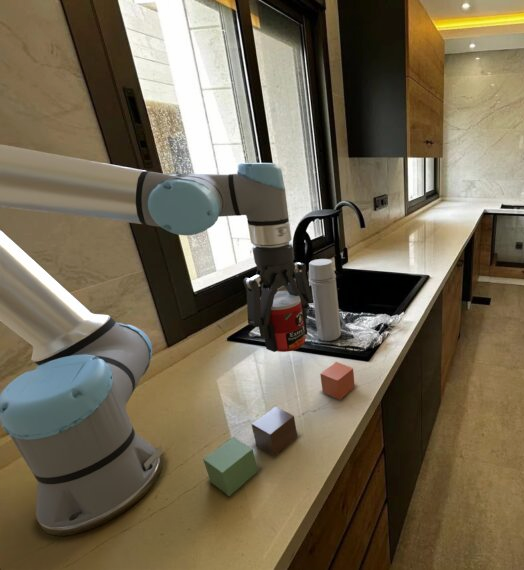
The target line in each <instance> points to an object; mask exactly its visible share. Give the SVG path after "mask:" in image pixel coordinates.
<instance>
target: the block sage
mask: <svg viewBox="0 0 524 570" xmlns="http://www.w3.org/2000/svg"><path fill="white" fill-rule="evenodd" d="M202 460H203V463H204V467H205V469H206V470H205V471H206V472H207V476H208V479H209V483H211V484H212V485H214V486H215V487H216V488H218V489H219V490H220V491H221V492H222V493H224V494H226V495H227V496H229V497H231V496H232V495H233V494H234V493H235V492H236V491H237V490H239V488H241V487H242V486H243V485H245V483H247V482H248V481H249V480H250V479H251V478H252V477H253V476H254V475H256V474H257V473H258V472H259V469H258V464H257V460H256V456H255V452H254V448H252V447H251V446H250V445H247V444H246V443H244V442H243V441H241V440H240V439H238V438H236V437H234V436H233V437H231V438H230V439H229V440H227V441H226V442H224V443H223V444H222V445H220V446H219V447H217V448H216V449H214V450H213V451H212V452H211V453H209V454H208V455H207V456H205V457H204V458H203V459H202Z"/></svg>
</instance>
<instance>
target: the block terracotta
mask: <svg viewBox="0 0 524 570" xmlns="http://www.w3.org/2000/svg"><path fill="white" fill-rule="evenodd" d="M320 382H321V383H320V384H321V389H322V393H324V394H325V395H328V396H330V397H332V398H335V399H337V400H341V399H343V397H345V396H347V394H348V393H350V392H351V390H353V389H354V388H355V387H356V384H355V383H356V381H355V371H354V367H351V366H348V365H346V364H343V363H340V362H338V361H335V362H333V364H332V365H330V366H329V367H327V368H325V370H323V371H322V372H320Z"/></svg>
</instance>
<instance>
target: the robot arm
mask: <svg viewBox="0 0 524 570" xmlns="http://www.w3.org/2000/svg"><path fill="white" fill-rule="evenodd" d="M284 181H285V180H284V175H283V171H282V168H281V166H279V164H277V163H273V162H239V163H238V164H237V172H236V173H229V174H217V173H216V174H215V173H214V174H212V173H207V174H206V173H176V174H167V173H161V172H156V171H149V170H145V169H144V170H143V169H139V168H133V167H127V166H122V165H116V164H110V163H104V162H101V161H100V162H99V161H94V160H90V159H89V160H88V159H84V158H78V157H73V156H67V155H63V154H62V155H61V154H56V153H51V152H45V151H40V150H35V149H34V150H33V149H30V148H29V149H28V148H23V147H17V146H11V145H7V144H0V208H5V209H12V210H21V211H30V212H37V213H47V214H55V215H61V216H62V215H63V216H71V217H79V218H88V219H96V220H105V221H112V222H122V223H128V224H129V223H130V224H139V225H145V226H146V225H147V226H152V227H160V228H162V229H163V230H166V231H167V232H169V233H172V234H175V235H179V236H195V235H198V234H201V233H203V232H205V231H207V230H208V229H211V228H212V227H213V226H214V225H215V224H216V222H217V221H218V220H219V218H220V217H221V218H222V217H240V216H246V221H247V226H248V232H249V239H250V243H251V244H252V245H253V246H252V247H251V249H252V254H253V261H254V263H255V266H256V272H255V275H253V276H252V277H250V278H249V277H245V278H244V279H243V285H244V287H245V290H246V305H247V306H246V308H247V310H246V311H247V312H246V313H247V324H248V325H250V326H252V327H256V328H258V330H259V335H260V338H261V339H263V340H264V342H265V349H266V350H268V351H270V352H273V353H275V352H279V351H278V350H277V344H276V339H275V333H274V327H273V324H272V323H269V321H270V316H271V307H272V306H273V301H274V295H275V294H276V293H277V292H278V289H280V288H281V287H284V288H285V289H286V291H288V293H289V294H290V295H294V296H299V297H300V300H301V306H302V314H303V322H304V329H305V336H307V335H308V328H307V321H306V320H308V312H307V310H308V309H309V308H310V304H312V303H313V302H314V301H313V294H312V290H311V287H310V283H309V279H308V276H307V265H306V264H305V263H303V262H298V261H296V262H294V260H295V255H294V254H295V253H294V246H293V244H292V243H291V241H292V232H291V225H290V219H289V209H288V202H287V193H286V186H285V182H284ZM293 274H294V277H293ZM260 282H261V283H260ZM0 322H1V323H2V324H4V325H5V326H6V327H8V328H9V329H10V330H11V331H13V332H14V333H15V334H17V335H18V336H19V337H21V339H23V340H25V341H26V342H27V343H28V344H30V345H31V346H32V354H31V359H30V360H31V361H32V362H33V363H34V364H36V365H37V366H35V369H33V370H28V371H27V370H26V371H25V372H23V373H22V374H20V375H19V376H18V377H15V378H14V379H12V381H10V383H8V385H6V386H5V387H4V388H3V389H2V391H1V392H0V424H1V427H2V429H3V431H4V432H5V433H6V434H7V435H9V437H10V438H11V440H12V441H13V443H14V445H15V447H16V449H17V450H18V452H19V453H20V456H22V458H23V460H24V461H25V463H26V465H27V466H28V468H29V469H30V472H31V473H32V474H33V476H34V478H35V480H36V481H37V490H36V510H35V518H36V520H37V522H38V524H39V525H40V527H41V529H42V530H43V531H44V532H46V534H49V535H53V536H71V535H76V534H79V533H84V532H87V531H90V530H92V529H95V528H97V527H100V526H102V525H103V524H106V523H107V522H110V521H111V520H113V519H115V518H117V517H118V516H119V515H121V514H123V513H124V512H125V511H127V510H128V509H130V508H131V507H133V506H134V505H135V504H136V503H137V502H139V501H140V500H141V499H142V498H144V496H145V495H146V494H147V493H148V492H149V491H150V490H151V488H152V487H153V486H154V485H155V484H156V482H157V480H158V479H159V478H160V474H161V473H162V469H163V461H162V458H161V455H162V454H163V453H164V450H163V447H162V445H160V446H159V447H158V448H155V446H153V445H152V444H150V443H149V442H148V441H147V440H146V439H144V437H143V438H142V436H141V435H139V434H137V433H136V430H135V429H134V426H133V424H132V420H131V419H130V416H129V414H128V411H127V404H128V402H129V400H130V399H131V396H132V395H133V394H134V392H135V390H136V388H137V386H138V384H139V383H140V381H141V379H142V377H143V376H144V375H145V374H146V372H147V371H148V368H149V367H150V366H151V365H150V364H151V362H152V361H151V359H152V357H153V345H152V342H151V340H150V338H149V336H148V335H147V334H146V333H145V332H144V331H143V330H141V329H140V328H138V327H137V326H135V325H132V324H124V323H123V322H117V321H116V320H115V319H114V318H112V316H110V315H109V314H103V313H93V312H91V311H90V310H89V309H88V308H87V307H86V306H85V305H83V303H81V302H80V300H78V299H77V298H76V297H75V296H73V294H72V293H70V292H69V291H68V290H67V288H65V287H64V286H63V285H62V284H60V283H59V282H58V281H57V280H56V279H55V278H54V277H53V276H51V275H50V273H48V272H47V271H46V269H44V268H43V267H42V266H41V265H39V264H38V263H37V262H36V261H35V260H34V259H33V258H32V257H31V256H30V255H28V253H26V252H25V251H24V250H23V249H22V248H21V247H20V246H19V245H18V244H16V242H14V241H13V240H12V239H11V238H10V237H9V236H8V235H6V234H5V232H3V231H2V229H0Z"/></svg>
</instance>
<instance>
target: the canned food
mask: <svg viewBox="0 0 524 570" xmlns="http://www.w3.org/2000/svg"><path fill="white" fill-rule="evenodd" d="M269 323H272V324H273V327H274V333H275V339H276V344H277V350H278V351H277V352H278V353H287V352H293V351H296V350H298V349H300V348H301V347H303V346H304V344H305V342H306V338H307V337H306V335H305V329H304V322H303V314H302V306H301V300H300V297H299V296H294V295H290V294H289V293H282V294H276V295H274V301H273V306H272V307H271V316H270V321H269Z"/></svg>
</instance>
